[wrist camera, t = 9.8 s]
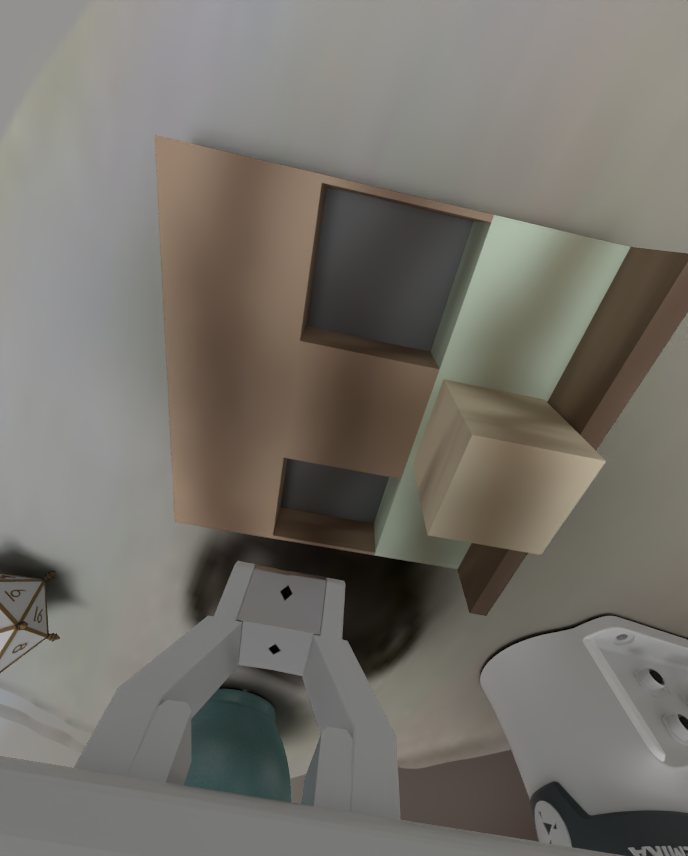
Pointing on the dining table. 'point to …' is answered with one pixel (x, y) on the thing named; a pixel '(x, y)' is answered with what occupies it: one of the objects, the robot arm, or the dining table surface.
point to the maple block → (500, 468)
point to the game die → (22, 616)
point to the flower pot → (238, 747)
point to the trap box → (374, 346)
